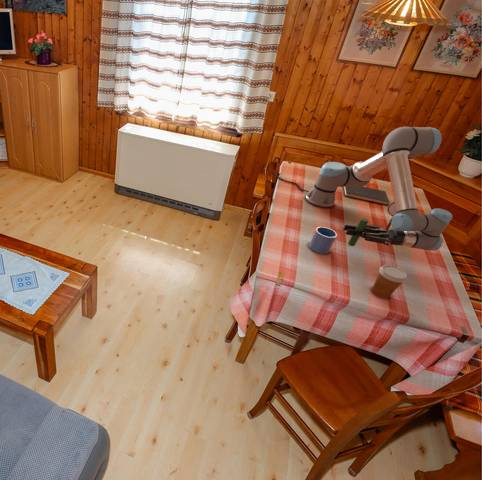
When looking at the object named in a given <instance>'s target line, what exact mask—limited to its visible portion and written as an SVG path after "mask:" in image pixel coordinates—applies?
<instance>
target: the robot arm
mask: <svg viewBox="0 0 482 480" xmlns="http://www.w3.org/2000/svg"><path fill="white" fill-rule="evenodd" d="M441 143H442V134H441V131H440V130H439V129H437V128H436V127H430V126H426V127H423V126H421V127H418V126H400V127H397V128H395V129H394V130H392V131H390V132H389V133H388V134H387V135H386V137H385V139H384V141H383V144H382V147H381V151H380V152H378V153H377V154H375V155H373V156H371V157H369V158H368V159H366V160H364V161H357V162H355V163H353V164H352V165H346V164H344V163H342V162H337V161H329V162H325V163H324V164H322V166H321V168H320V170H319V173H318V175H317V178H316V180H315V181H314V182H315V183H314V185H313V187H312V188H311V189H310V190H306V189H304V188H301V186H300V184H299V183H297V182H294V181H290V180H286V179H284V178H282V177H280V176H279V175H278V174H277V172H276V171H275V172H273V173H274V175H275V176H276V178H277V179H279V180H281V181H282V182H283V181H284V182H286V183H289V184H294V185H296V186H297V187H298V189H299V190H300V191H303V192H306V193H307V194H306V195H305V200H306V201H307V202H308V203H310V204H311V205H313V206H315V207H319V208H326V209H327V208H332V207H333V206H334V205H335V201H336V193H337V190H338V188H339V187H340V188H343V187H366V186H367V185H369V184H370V182H371V181H372V179H373V176H374V175H377V173H380V172H382V171H383V170H387V171H388V176H389V182H390V186H391V193H392V196H393V201H394V203H395V208H396V215H394V216H392V217H393V218H392V217H391V218H392V221H391V227H392V228H391V229H388V230H386V228H382V225H379V224H378V225H373V224H366V226H365V228H364V230H363V231H359V230H355V229H356V227H357V225H350V224H344V227H343V228H342V231H345V235H346V236H359V238H362V239H364V241H366V242H372V243H376V244H382V245H385V246H390V245H391V246H400V247H405V248H410V249H411V248H412V249H417V250H423V251H433V252H435V251H438V250H440V248H442V246H443V242H444V238H443V237H442V236H441V235H442V233H443V232H444V231H445V229H446V228H447V226H448V225H450V222H451V221H452V219H453V214H452V213H451V211H448V210H446V209H445V208H444V209H443V208H438V207H437V208H433V209H432V210H431V211H429V213H420V212H419V209H418V208H419V207H418V204H417V199H416V193H415V188H414V183H413V182H414V181H413V178H412V171H411V167H410V163H409V160H412V159H415V158H417V157H418V156H421V155H429V154H434V153H436V151H437V150H438V149H439V147H440V146H441Z"/></svg>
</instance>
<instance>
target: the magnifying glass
mask: <svg viewBox="0 0 482 480" xmlns="http://www.w3.org/2000/svg"><path fill="white" fill-rule="evenodd" d="M387 214H388V215H390V216H391V218H390V220H389V222H388V223H387V225H386V227H385V229H386V230H390V227H391V226H392V224H391V221H392V218H393V216H394V215H396V208H395V203H394V202H391V203H389V204H388V206H387Z"/></svg>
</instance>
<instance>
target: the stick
mask: <svg viewBox="0 0 482 480" xmlns="http://www.w3.org/2000/svg"><path fill="white" fill-rule="evenodd" d="M368 222H369V219H367V218H366V217H361V218H360V220H359V221H358V223H357V225H356V226H357V227H356V229H355V230H359V231H363V230H364V228H365V226H366V225H368ZM359 239H360V237H359V236H352V235H350V238H349V240H348V242H347V245H348V246H350V247H355V246H356V244H357V243H358V240H359Z"/></svg>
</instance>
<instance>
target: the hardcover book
mask: <svg viewBox="0 0 482 480" xmlns="http://www.w3.org/2000/svg"><path fill="white" fill-rule="evenodd" d="M342 189H343V193H344V197H347V198H352V199H356V200H357V199H358V200H362V201H366V202H370V203H375V204H380V205H385V206H389V203H390V200H389V197H388V194H387V192H386V190H382V189H377V188H373V187H367V186H363V187H342Z"/></svg>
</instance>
